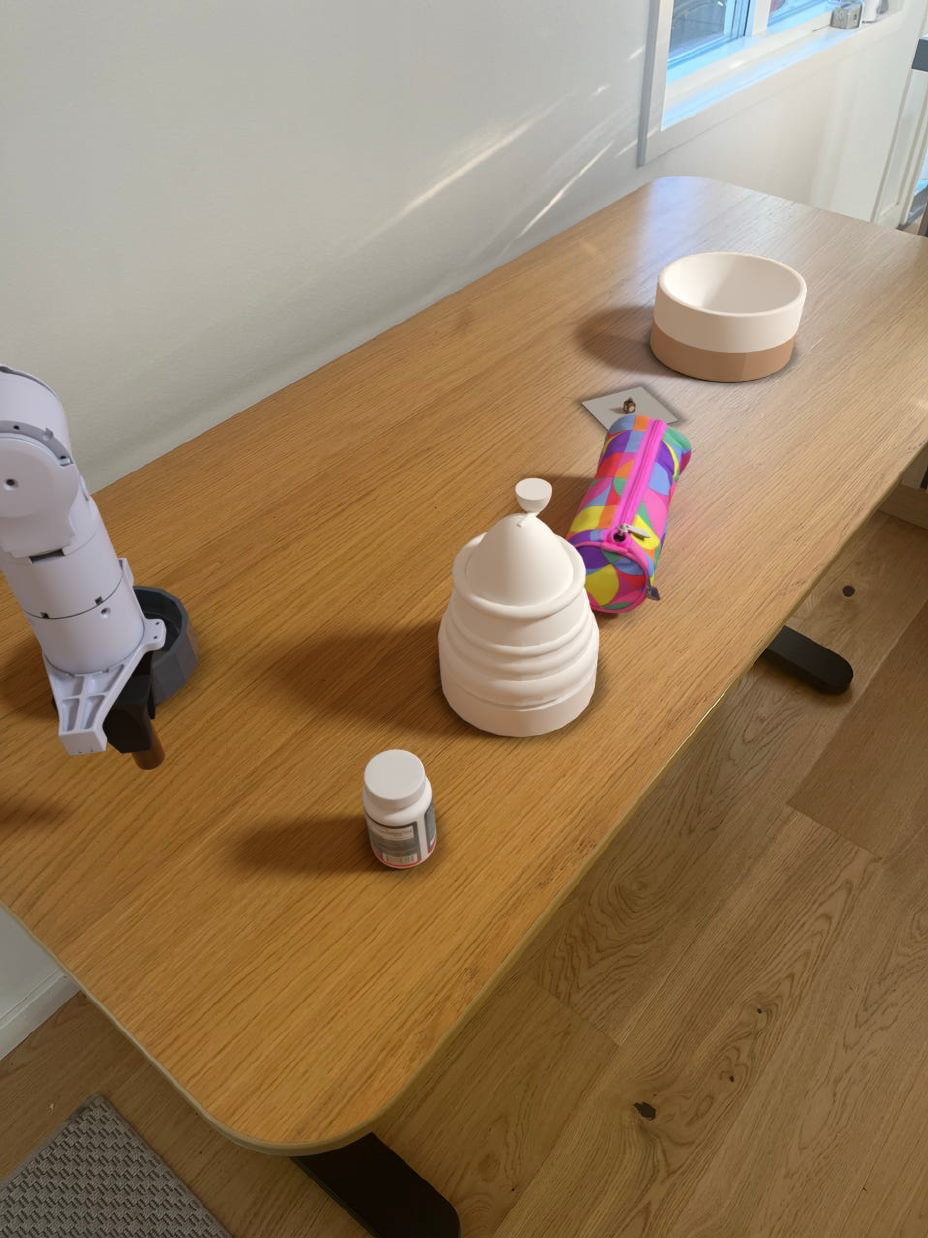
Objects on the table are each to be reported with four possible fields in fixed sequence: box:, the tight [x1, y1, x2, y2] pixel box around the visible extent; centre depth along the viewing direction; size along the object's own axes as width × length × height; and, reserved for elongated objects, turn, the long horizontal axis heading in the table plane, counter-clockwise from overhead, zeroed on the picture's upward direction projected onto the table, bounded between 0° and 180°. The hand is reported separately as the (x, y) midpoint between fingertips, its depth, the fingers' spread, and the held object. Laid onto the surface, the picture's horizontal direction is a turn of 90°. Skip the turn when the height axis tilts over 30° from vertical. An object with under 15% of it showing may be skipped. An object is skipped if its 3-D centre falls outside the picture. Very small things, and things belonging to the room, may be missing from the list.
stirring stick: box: [130, 676, 166, 771], centre depth 59 cm, size 2×2×10 cm
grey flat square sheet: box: [581, 386, 679, 431], centre depth 103 cm, size 8×8×2 cm
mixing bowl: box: [132, 584, 200, 705], centre depth 76 cm, size 11×11×4 cm
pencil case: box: [564, 415, 692, 614], centre depth 84 cm, size 22×9×9 cm, turn 163°
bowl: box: [649, 251, 808, 383], centre depth 110 cm, size 17×17×8 cm
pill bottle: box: [361, 748, 438, 869], centre depth 62 cm, size 5×5×8 cm
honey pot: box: [437, 477, 600, 738], centre depth 70 cm, size 13×13×18 cm
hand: (138, 732), depth 61 cm, fingers closed on stirring stick, 2 cm apart
